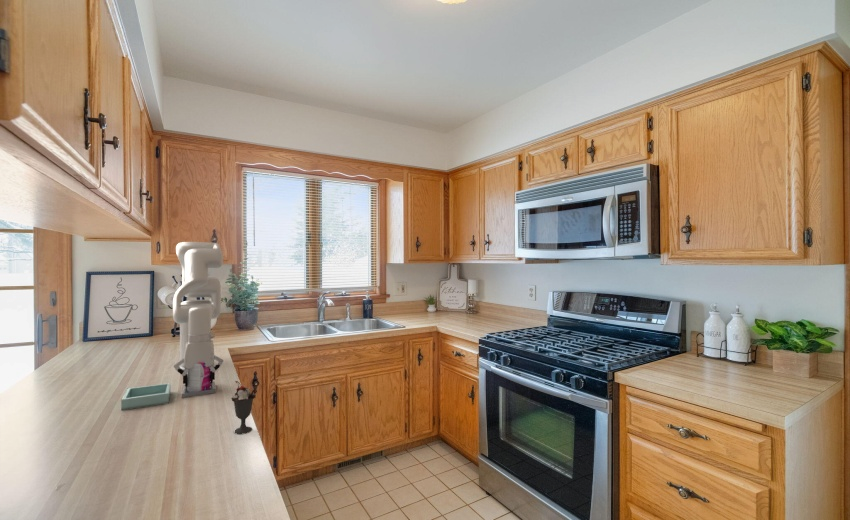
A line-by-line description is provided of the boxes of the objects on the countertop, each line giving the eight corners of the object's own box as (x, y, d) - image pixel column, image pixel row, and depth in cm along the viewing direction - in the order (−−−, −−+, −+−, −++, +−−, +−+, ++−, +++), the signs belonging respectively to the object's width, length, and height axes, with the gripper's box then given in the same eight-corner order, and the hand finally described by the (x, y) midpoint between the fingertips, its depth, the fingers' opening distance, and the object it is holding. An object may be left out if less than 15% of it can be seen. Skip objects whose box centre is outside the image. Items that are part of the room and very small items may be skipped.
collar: (182, 389, 152) (182, 385, 152) (214, 385, 157) (214, 381, 157) (181, 397, 142) (181, 393, 142) (215, 393, 148) (215, 389, 148)
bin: (127, 398, 142) (127, 388, 142) (170, 392, 148) (170, 382, 148) (121, 410, 130) (121, 399, 130) (168, 403, 137) (168, 393, 137)
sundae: (226, 430, 116) (227, 380, 116) (249, 424, 120) (250, 375, 121) (235, 437, 111) (236, 385, 111) (258, 430, 116) (259, 380, 116)
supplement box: (199, 394, 146) (200, 363, 147) (186, 393, 148) (186, 363, 148) (211, 389, 152) (211, 360, 152) (198, 388, 153) (198, 359, 153)
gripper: (224, 334, 158) (223, 377, 158) (173, 338, 149) (172, 384, 149) (225, 337, 151) (224, 382, 151) (172, 342, 142) (171, 390, 142)
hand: (199, 383), depth 150 cm, fingers closed on supplement box, 8 cm apart
